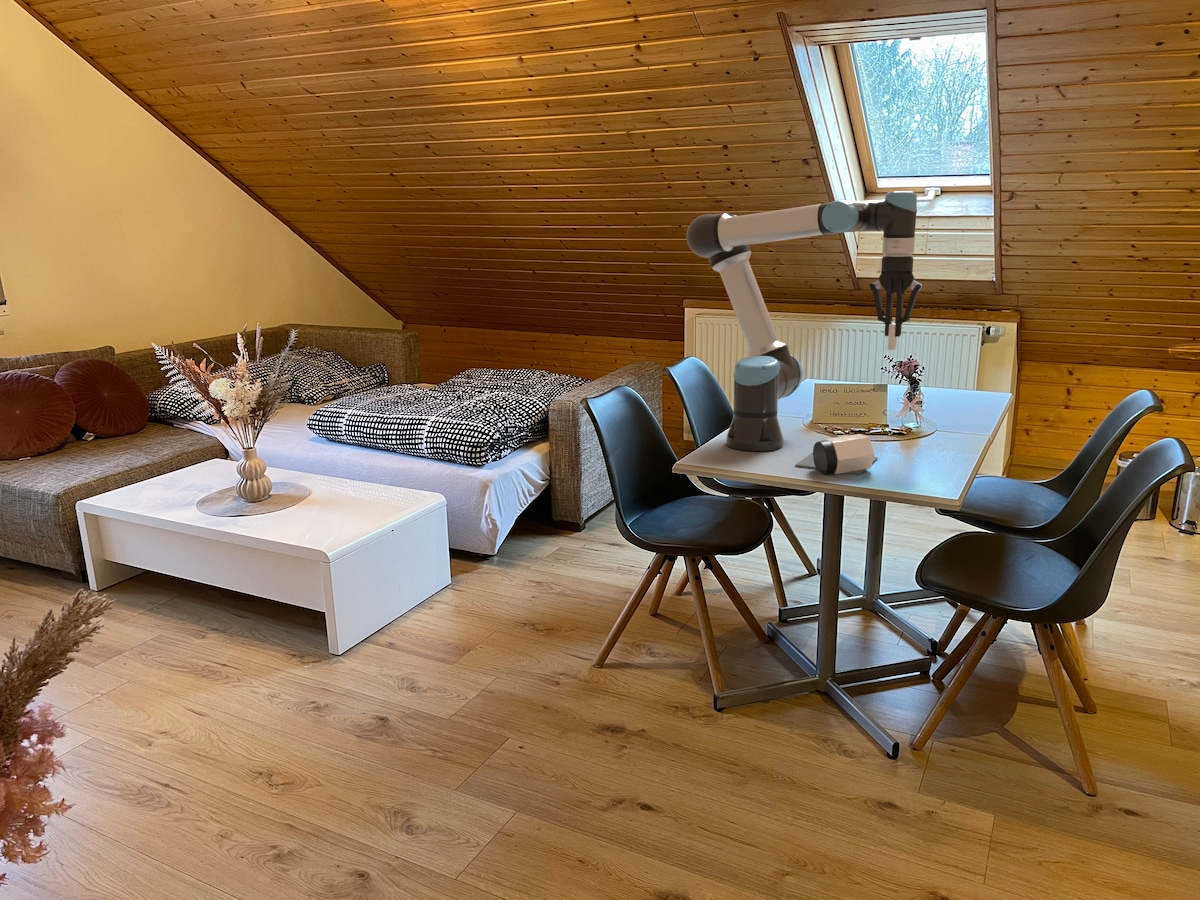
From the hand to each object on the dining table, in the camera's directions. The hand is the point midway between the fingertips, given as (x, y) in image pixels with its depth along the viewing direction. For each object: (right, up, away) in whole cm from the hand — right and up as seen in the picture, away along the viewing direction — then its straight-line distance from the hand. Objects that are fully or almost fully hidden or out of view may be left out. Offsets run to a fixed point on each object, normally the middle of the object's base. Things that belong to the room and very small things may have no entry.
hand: (891, 349), depth 231 cm
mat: (-16, -29, -6) cm, 34 cm away
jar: (-10, -26, -13) cm, 31 cm away
